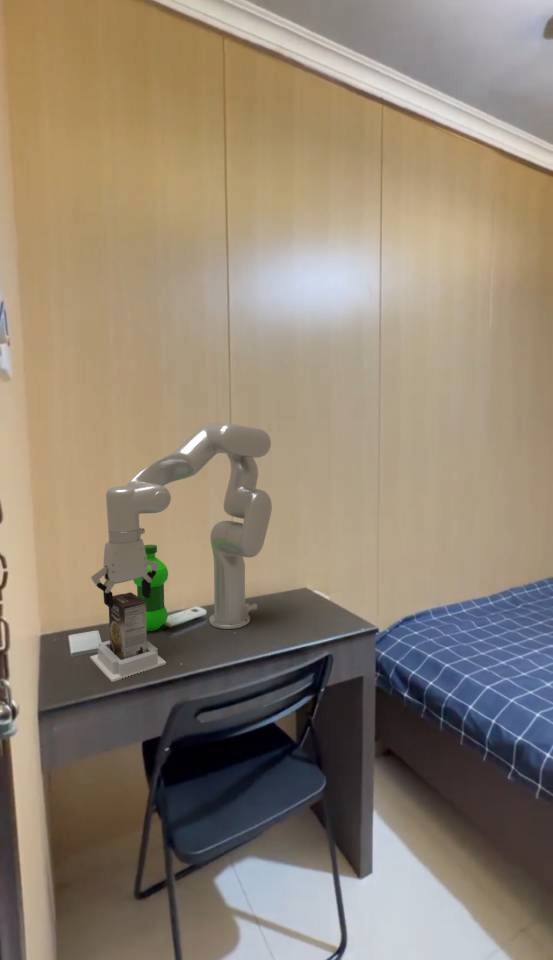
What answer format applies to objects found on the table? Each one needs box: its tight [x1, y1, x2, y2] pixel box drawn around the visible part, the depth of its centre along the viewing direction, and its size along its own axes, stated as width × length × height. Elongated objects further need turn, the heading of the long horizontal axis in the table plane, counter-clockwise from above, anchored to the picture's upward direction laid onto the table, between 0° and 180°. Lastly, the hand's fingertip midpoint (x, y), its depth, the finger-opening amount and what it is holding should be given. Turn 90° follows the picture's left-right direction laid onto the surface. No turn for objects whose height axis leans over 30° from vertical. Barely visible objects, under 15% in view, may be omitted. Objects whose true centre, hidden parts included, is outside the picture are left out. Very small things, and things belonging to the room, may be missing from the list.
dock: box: [89, 639, 167, 683], centre depth 125 cm, size 14×15×4 cm
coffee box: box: [108, 591, 148, 660], centre depth 124 cm, size 9×6×16 cm
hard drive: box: [67, 630, 103, 658], centre depth 135 cm, size 2×8×12 cm
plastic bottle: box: [133, 544, 169, 632], centre depth 145 cm, size 10×10×25 cm
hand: (128, 601), depth 124 cm, fingers open, 9 cm apart
